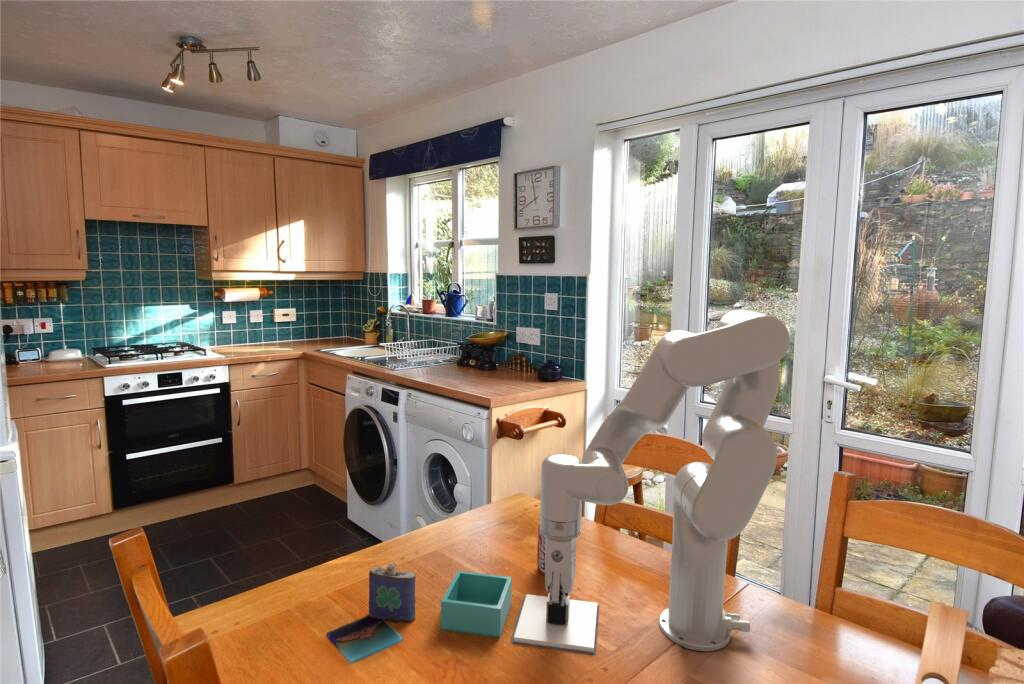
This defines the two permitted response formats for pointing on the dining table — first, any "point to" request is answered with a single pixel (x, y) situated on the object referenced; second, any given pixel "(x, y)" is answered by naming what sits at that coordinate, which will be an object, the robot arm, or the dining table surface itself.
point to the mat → (556, 647)
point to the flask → (392, 594)
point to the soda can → (541, 552)
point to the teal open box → (476, 604)
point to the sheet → (569, 636)
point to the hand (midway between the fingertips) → (557, 616)
